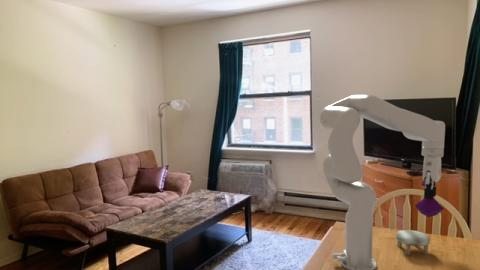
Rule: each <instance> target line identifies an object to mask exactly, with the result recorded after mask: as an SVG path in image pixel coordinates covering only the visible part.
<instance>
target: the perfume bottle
mask: <svg viewBox="0 0 480 270" xmlns="http://www.w3.org/2000/svg"><path fill="white" fill-rule="evenodd" d="M425 178H426V177H425ZM421 180H422V181H421V182H420V185H421V186H423V188H425V181H424V180H423V177H422V179H421ZM414 206H415V208H416V209H417V211H418V212H419V213H420V214H422V215H423V216H425V217H427V218H432V217H435V216H437V215H439V214H440V213H441V212H442V211H443V210H444V209H445V208H444V207H443V206H442V205H441V203H440V202H439V201H438V200H437V199H436V198H435V197H433V199H427V198H424V197H423V198H422V199H421V200H420V201H418V202H417V203H415V204H414Z"/></svg>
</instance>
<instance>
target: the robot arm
mask: <svg viewBox="0 0 480 270" xmlns="http://www.w3.org/2000/svg"><path fill="white" fill-rule="evenodd" d="M361 118H362V119H365V120H367V121H371V122H373V123H375V124H377V125H379V126H381V127H384V128H385V129H388V130H391V131H396V132H401V133H402V134H403V136H404V137H405V138H407V139H409V140H413V141H419V142H421V156H423V164H422V165H423V166H422V178H423V180H424V181H425V188H424V187H423V188H424V190H423V192H424V194H423V198H427V199H433V197H434V198H435V197H436V196H437V182H439V181H440V180H441V177H442V158H443V157H444V154H445V153H444V151H445V150H444V149H445V138H446V137H445V136H446V135H445V134H446V124H445V122H444V121H442V120H433V119H432V118H430V117H427V116H426V115H422V114H419V113H416V112H413V111H410V110H407V109H405V108H402V107H401V108H400V107H399V106H396V105H394V104H392V103H390V102H388V101H386V100H384V99H381V98H380V97H378V96H376V95H372V94H353V95H350V96H348V97H345V98H343V99H341V100H338V101H336V102H334V103H332V104H330V105H327V106H326V107H324V108H323V109H322V110H321V112H320V113H319V122H320V124H321V126H323V128H325V129H328V130H332V131H331V133H330V135H329V137H328V140H327V149H328V152H329V154H328V155H326V157H324V160H323V163H322V171H323V174H324V177H325V180H326V181H327V184H328V186H329V189H330V190H331V193H332V195H334V197H335V198H336V199H337V200H339V201H340V202H343V203H345V204H347V205H348V206H349V208H348V210H347V211H346V214H345V220H344V222H345V226H344V227H345V229H344V230H345V233H344V235H345V239H344V240H345V243H344V244H345V249H342V252H340V253H331V256H332V259H333V260H337V262H340V264H341V265H342V266H343V268H345V269H347V270H376V269H377V265H378V264H377V261H376V260H375V259H374V258H373V233H374V232H373V223H374V222H373V220H374V209H375V205H376V201H377V194H376V191H375V189H374V188H373V187H372V186H371V185H370V184H368V183H366V182H363V181H361V179H362V177H363V168H362V165H361V162H360V160H359V157H358V154H357V152H356V150H355V146H354V136H355V133H356V131H357V129H358V128H359V125H360V122H361ZM425 177H426V178H425ZM423 180H422V181H423Z"/></svg>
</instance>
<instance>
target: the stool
mask: <svg viewBox="0 0 480 270" xmlns="http://www.w3.org/2000/svg"><path fill="white" fill-rule="evenodd" d="M395 234H396V235H395V238H396V240H397V247H398V248H402V247H403V244H404V245H405V255H406V256H408V257H409V256H411V246H412V247H415V248H418V247H423V249H422V250H423V252H422V254H423V255H425V256H427V255H429V245H430V244H431V243H430V242H431V241H430V240H431V239H430V236H429V235H428V234H426V233H424V232H421V231H418V230H412V229H403V230H399V231H397V232H396V233H395Z"/></svg>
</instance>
